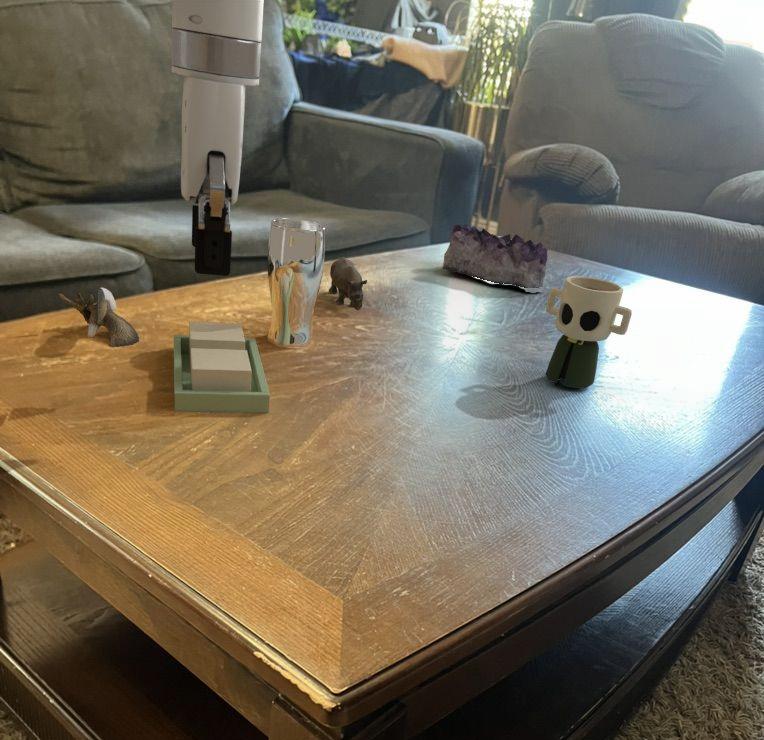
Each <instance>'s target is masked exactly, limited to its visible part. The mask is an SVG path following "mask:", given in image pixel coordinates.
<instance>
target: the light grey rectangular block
mask: <svg viewBox="0 0 764 740" xmlns="http://www.w3.org/2000/svg"><path fill="white" fill-rule="evenodd" d="M251 375H252V370H251V366H250V362H249V357H248V353H247V350H227V349H200V348H191V391H232V392H251Z"/></svg>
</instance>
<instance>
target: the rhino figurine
mask: <svg viewBox="0 0 764 740" xmlns="http://www.w3.org/2000/svg"><path fill="white" fill-rule="evenodd" d="M329 269H330V271H329V275H330V279H331V284H330V285H331V286H330V287H329V288H328V292H329V293H330V294H338V297H337V299H335V304H337V305H339V306H340V305H342V306H344V305H345V297H348V300H349V301H350V302H349V305H350V306H351V307H353V308H354V310H355V311H360V310H361V309H362V308H363V301H364V293H363V287H364V285H367V283H368V279H365V280H363V277H362V275H361V274H360V272H359V271H358V269H357V268H356V267H355V264H354V262H353V261H352V260H350V259H348V258H346V257H344V256H342V257H340V258H338V259H336V260H335V261H333V263H332V264H331V266H330V268H329Z"/></svg>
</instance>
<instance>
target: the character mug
mask: <svg viewBox="0 0 764 740" xmlns="http://www.w3.org/2000/svg"><path fill="white" fill-rule="evenodd" d="M623 293H624V288H623V287H622V286H621V285H619V284H618V283H615V282H612V281H610V280H607V279H604V278H598V277H594V276H585V275H571V276H568V277H567V278H565V281H564V284H563V288H562V289H561V288H557V287H551V288H550V290H549V292H548V295H547V300H546V305H545V312H546V313H548V314H549V315H553V316H555V327H556V329H557V331H558V332H559V333H560V334H562V335H561V336H560V337H559V339H558V341H557V343H556V345H555V348H554V350H553V353H552V355H551V357H550V359H549V360H550V361H549V363H548V366H547V368H546V372H545V376H546V378H547V379H548V380H550V381H551V382H553V383H554V384H558V382H559V380H558V379H560V378H561V379H560V380H563V381H564V382H563V386H564V387H566V388H572V389H586V388H589V387H591V386H592V385H593V384H594V382H595V379H596V374H597V368H598V362H599V361H598V359H599V352H600V347H599V346H600V345H599V342H602V341H605V340H607V339H608V338H609V337H610V336H611V334H612V333H613V334H616V335H620V336H624V335H626V333H627V332H628V329H629V325H630V322H631V319H632V311H633V310H632V309H630V308H628V307H626V306H622V305H620V304H621V301H622V297H623ZM556 297H557V298H560V300H559V304H558V307H556V306H554V305H555V301H556ZM617 315H621V316H622V317H621V321H620V325H617V324H615V322H616V318H617Z"/></svg>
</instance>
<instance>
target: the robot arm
mask: <svg viewBox="0 0 764 740" xmlns="http://www.w3.org/2000/svg"><path fill="white" fill-rule="evenodd" d="M264 5H265V0H171V73H172V74H176V75H179V76H184V78H183V87H182V103H181V137H180V142H181V143H180V156H181V157H180V191H181V197H183V199H184V200H185V201H186V202H190V200H191V199H190V198H191V197H194V204H192V208H191V209H192V210H191V212H192V213H191V245H192V247H194V272H195V273H196V274H198V275H210V276H222V277H227V276H229V275H231V264H232V263H231V262H232V242H233V230H231V206H233V205H235V204H236V203H237V201H238V197H239V196H238V195H239V187H240V178H241V170H242V169H241V167H242V159H243V158H242V157H243V156H242V155H243V144H244V142H243V141H244V125H245V107H246V106H245V105H246V86H247V87H248V86H250V87H258V86H260V77H261V76H260V75H261V59H262V58H261V57H262V43H261V42H262V39H263V25H264V21H263V20H264Z"/></svg>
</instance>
